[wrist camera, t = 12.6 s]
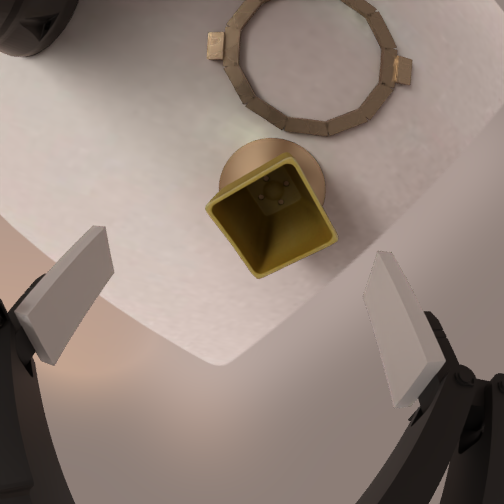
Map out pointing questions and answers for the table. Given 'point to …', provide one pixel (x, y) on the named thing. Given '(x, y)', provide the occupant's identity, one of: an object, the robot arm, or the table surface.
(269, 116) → the socket ring
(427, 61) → the table surface
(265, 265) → the flower pot
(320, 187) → the coaster
